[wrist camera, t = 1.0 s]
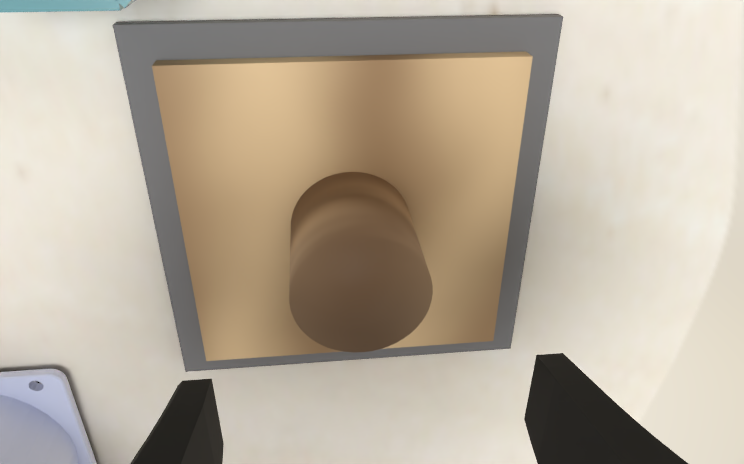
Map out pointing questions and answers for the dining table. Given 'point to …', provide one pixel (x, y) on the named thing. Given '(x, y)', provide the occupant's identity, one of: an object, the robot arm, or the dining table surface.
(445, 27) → the rubber mat
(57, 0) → the teal bowl
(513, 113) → the oak lid
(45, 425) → the robot arm
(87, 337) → the dining table surface
